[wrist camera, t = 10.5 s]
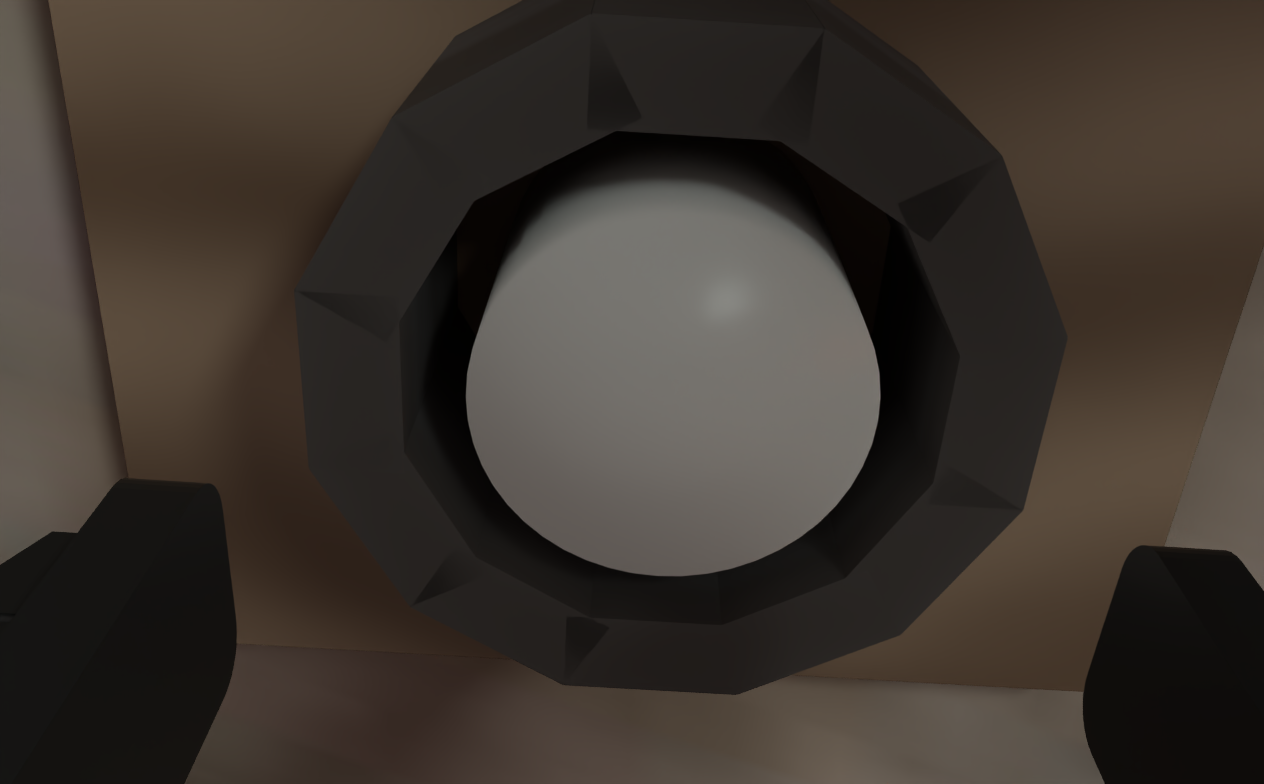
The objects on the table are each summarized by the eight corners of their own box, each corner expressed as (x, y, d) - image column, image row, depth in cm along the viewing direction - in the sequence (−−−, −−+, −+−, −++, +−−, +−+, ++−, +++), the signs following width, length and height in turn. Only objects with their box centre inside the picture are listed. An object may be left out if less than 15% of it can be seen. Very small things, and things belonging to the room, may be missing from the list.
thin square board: (40, -375, 15) (-279, -457, 10) (1374, -284, 16) (1743, -318, 10) (184, 589, 23) (42, 832, 18) (1088, 641, 23) (1218, 896, 18)
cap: (509, 98, 17) (464, 196, 13) (851, 120, 17) (913, 224, 13) (506, 402, 19) (467, 564, 15) (807, 419, 19) (848, 587, 15)
